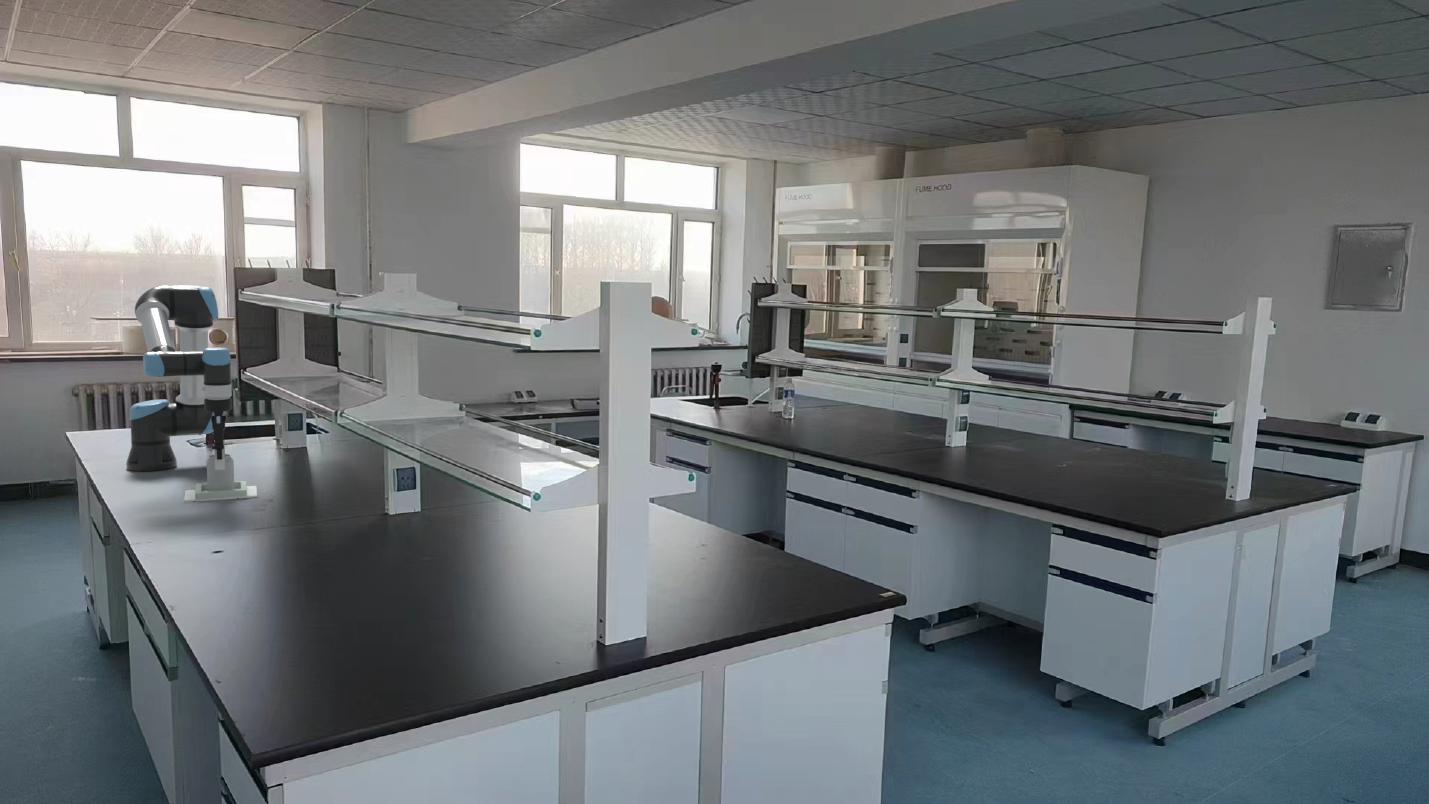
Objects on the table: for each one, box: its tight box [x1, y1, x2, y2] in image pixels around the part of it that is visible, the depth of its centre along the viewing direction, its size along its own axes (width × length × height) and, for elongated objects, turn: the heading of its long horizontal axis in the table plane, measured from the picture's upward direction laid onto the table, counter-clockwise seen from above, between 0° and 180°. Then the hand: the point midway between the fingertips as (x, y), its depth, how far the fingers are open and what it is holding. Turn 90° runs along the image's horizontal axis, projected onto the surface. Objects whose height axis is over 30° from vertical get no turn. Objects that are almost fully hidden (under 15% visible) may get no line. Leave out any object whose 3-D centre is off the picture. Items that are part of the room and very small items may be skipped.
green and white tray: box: [183, 480, 258, 503], centre depth 293 cm, size 14×20×2 cm
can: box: [206, 453, 235, 492], centre depth 292 cm, size 8×8×12 cm
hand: (220, 465), depth 292 cm, fingers open, 13 cm apart
